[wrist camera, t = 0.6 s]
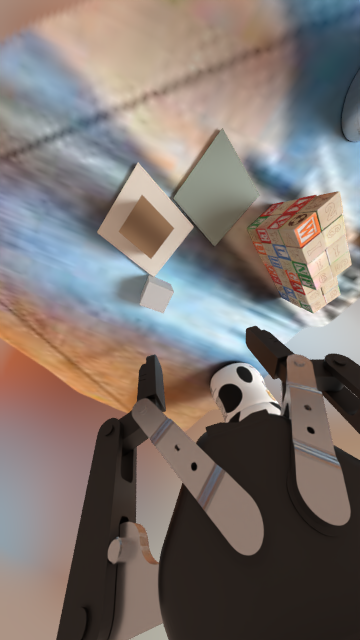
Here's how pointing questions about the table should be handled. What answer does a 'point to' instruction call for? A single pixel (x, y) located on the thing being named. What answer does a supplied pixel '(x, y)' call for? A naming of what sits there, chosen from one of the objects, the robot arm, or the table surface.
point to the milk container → (241, 392)
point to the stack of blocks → (304, 248)
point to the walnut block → (146, 227)
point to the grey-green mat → (217, 190)
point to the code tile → (153, 193)
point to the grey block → (156, 294)
